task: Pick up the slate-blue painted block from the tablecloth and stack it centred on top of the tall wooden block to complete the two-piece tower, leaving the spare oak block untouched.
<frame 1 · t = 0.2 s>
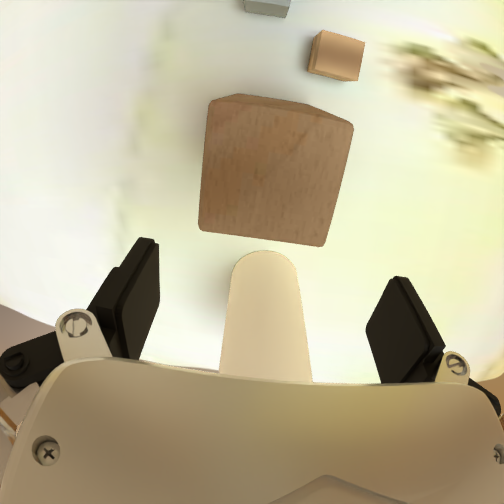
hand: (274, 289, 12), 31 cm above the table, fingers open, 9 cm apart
spare oak block: (329, 59, 32), on the table
wooden block: (267, 134, 38), on the table
tall pillar cylinder: (264, 278, 50), on the table
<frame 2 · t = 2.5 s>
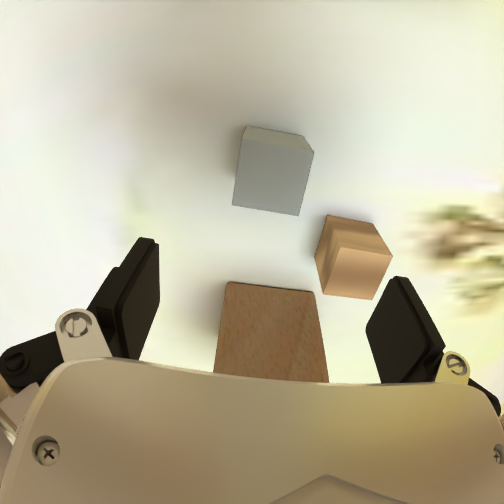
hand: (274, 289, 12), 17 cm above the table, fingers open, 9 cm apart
spare oak block: (343, 240, 30), on the table
wooden block: (264, 316, 36), on the table
slate block: (270, 157, 26), on the table
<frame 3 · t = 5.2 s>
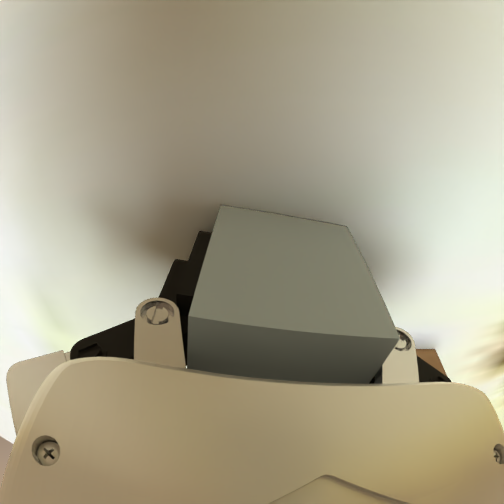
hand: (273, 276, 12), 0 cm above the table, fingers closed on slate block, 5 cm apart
spare oak block: (386, 373, 17), on the table
slate block: (273, 269, 13), on the table, touching gripper
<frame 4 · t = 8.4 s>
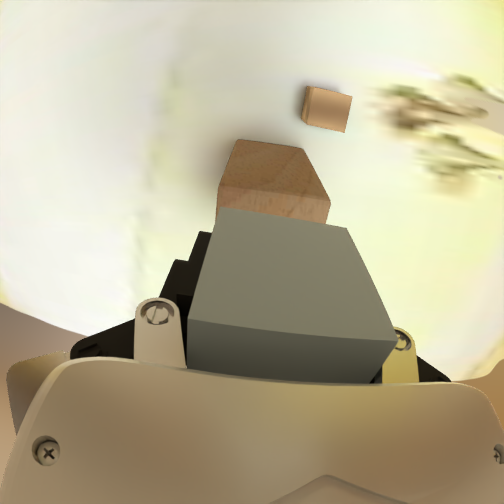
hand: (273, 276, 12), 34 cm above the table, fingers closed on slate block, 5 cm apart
spare oak block: (321, 105, 39), on the table
wooden block: (265, 174, 45), on the table
slate block: (272, 270, 13), point 34 cm above the table, touching gripper
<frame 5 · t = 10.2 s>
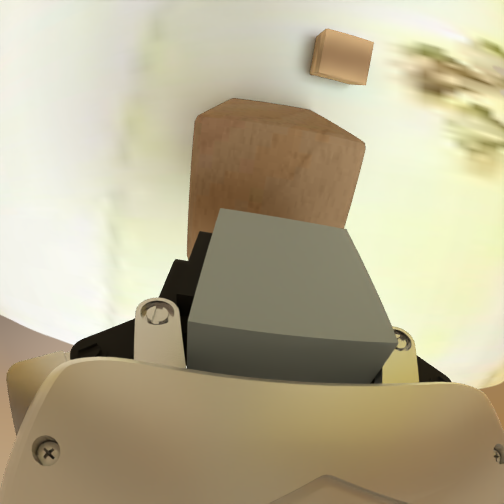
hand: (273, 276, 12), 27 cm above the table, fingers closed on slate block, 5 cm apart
spare oak block: (333, 60, 29), on the table
wooden block: (265, 142, 35), on the table
slate block: (272, 271, 13), point 26 cm above the table, touching gripper
when the fingers open (22 cm above the table, at t = 11.9 s): slate block drops 1 cm, resting on wooden block.
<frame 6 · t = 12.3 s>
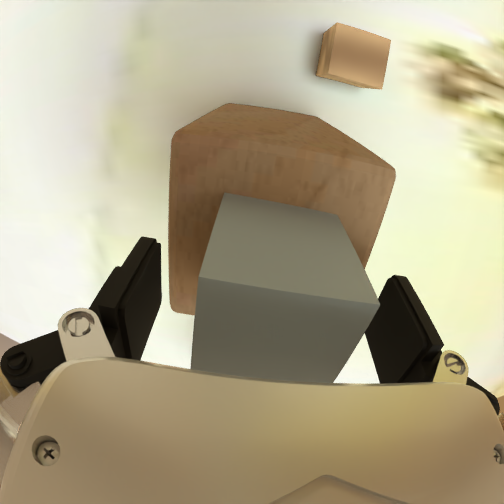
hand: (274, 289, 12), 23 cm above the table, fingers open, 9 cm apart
spare oak block: (343, 60, 25), on the table
wooden block: (266, 153, 31), on the table, touching slate block
slate block: (270, 252, 14), point 20 cm above the table, touching wooden block
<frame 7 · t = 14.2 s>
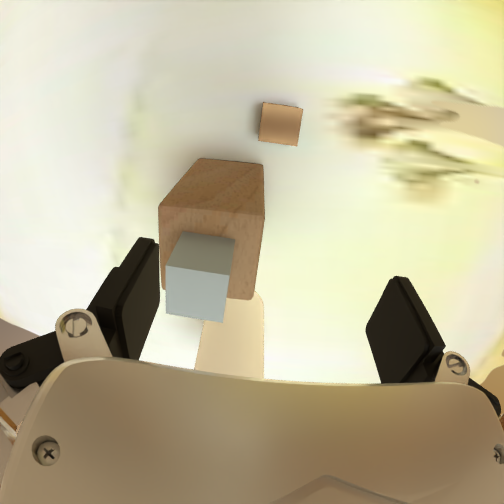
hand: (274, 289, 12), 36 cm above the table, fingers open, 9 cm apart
spare oak block: (278, 120, 41), on the table
wooden block: (227, 190, 47), on the table, touching slate block
slate block: (206, 257, 29), point 20 cm above the table, touching wooden block
tall pillar cylinder: (236, 306, 58), on the table
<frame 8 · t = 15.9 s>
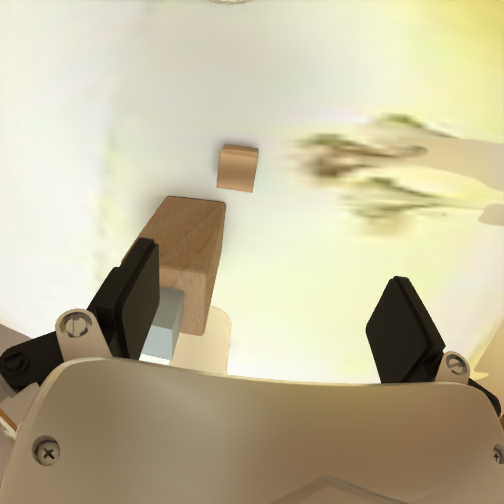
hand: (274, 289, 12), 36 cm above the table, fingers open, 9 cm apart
spare oak block: (239, 162, 45), on the table
wooden block: (194, 224, 51), on the table, touching slate block
slate block: (162, 303, 34), point 20 cm above the table, touching wooden block
tall pillar cylinder: (206, 322, 63), on the table
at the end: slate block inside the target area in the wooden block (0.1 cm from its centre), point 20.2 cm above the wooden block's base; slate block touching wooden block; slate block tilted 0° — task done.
